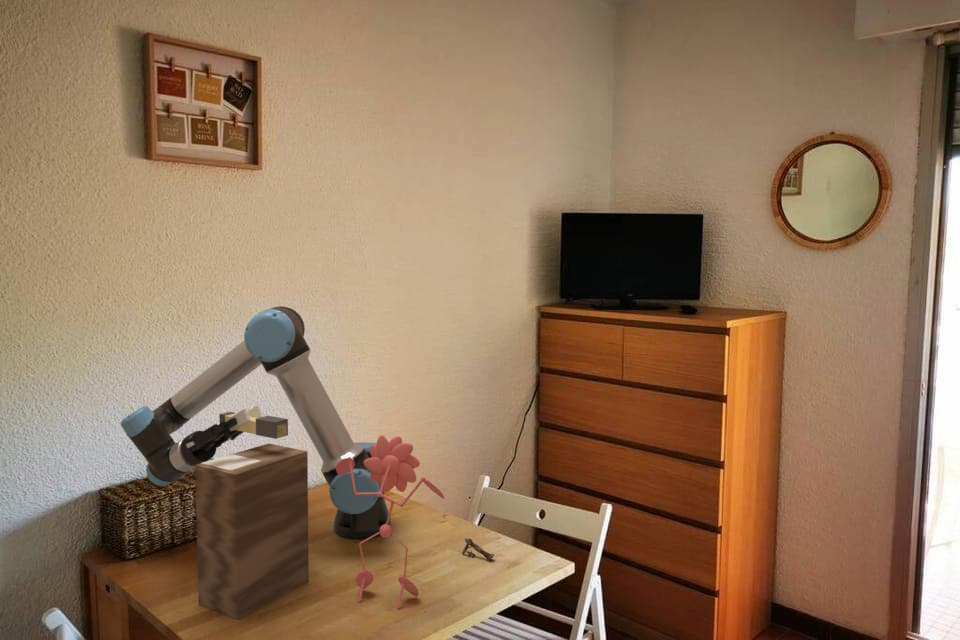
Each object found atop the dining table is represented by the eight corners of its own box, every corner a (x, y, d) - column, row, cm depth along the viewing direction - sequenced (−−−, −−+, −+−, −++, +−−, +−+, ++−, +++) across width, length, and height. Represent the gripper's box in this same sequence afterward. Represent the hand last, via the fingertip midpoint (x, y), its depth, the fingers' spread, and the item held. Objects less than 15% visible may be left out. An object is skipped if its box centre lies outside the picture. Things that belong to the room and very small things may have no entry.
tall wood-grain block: (308, 581, 165) (307, 450, 162) (238, 619, 148) (235, 473, 145) (270, 569, 171) (268, 442, 168) (198, 604, 154) (195, 463, 151)
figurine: (434, 617, 150) (437, 449, 147) (322, 598, 158) (323, 437, 155) (459, 586, 164) (462, 432, 162) (356, 570, 172) (356, 423, 169)
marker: (288, 435, 160) (287, 419, 160) (275, 438, 157) (275, 422, 157) (231, 424, 169) (231, 408, 169) (218, 427, 166) (218, 411, 166)
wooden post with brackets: (461, 549, 182) (467, 534, 181) (487, 568, 179) (494, 553, 178) (457, 552, 180) (464, 537, 179) (484, 571, 177) (491, 556, 176)
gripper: (226, 457, 180) (285, 421, 169) (170, 474, 167) (230, 436, 155) (215, 429, 181) (273, 391, 170) (158, 443, 168) (217, 403, 156)
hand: (253, 413), depth 163 cm, fingers closed on marker, 3 cm apart
